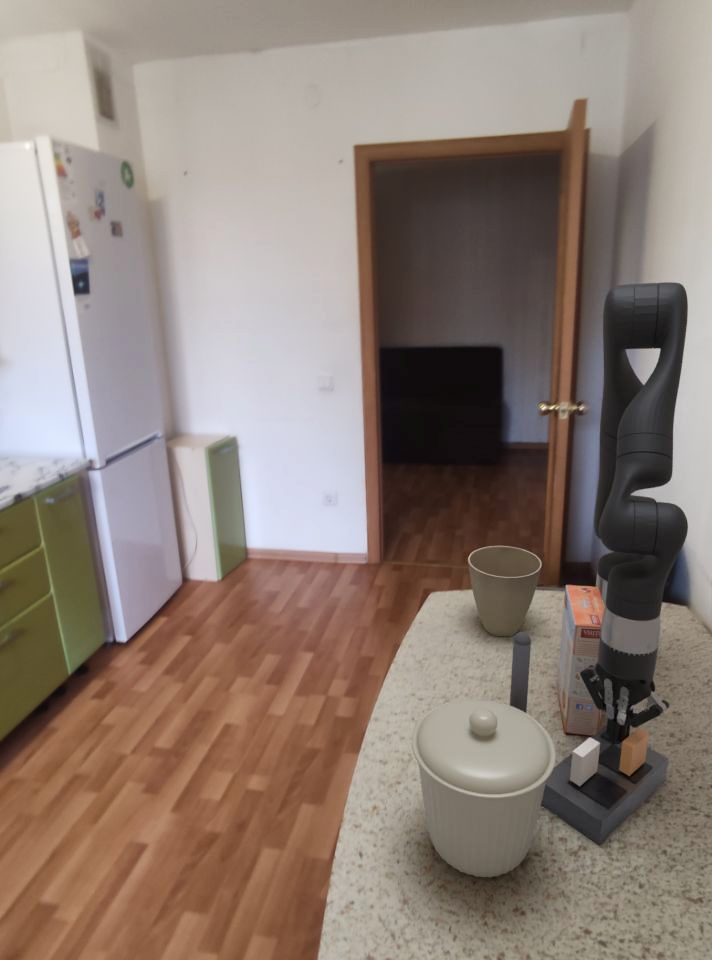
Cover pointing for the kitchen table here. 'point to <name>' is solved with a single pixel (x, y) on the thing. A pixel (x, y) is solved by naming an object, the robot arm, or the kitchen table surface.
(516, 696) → the stand
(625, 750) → the block
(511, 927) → the kitchen table surface
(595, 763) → the white rectangular block
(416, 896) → the kitchen table surface
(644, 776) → the panel
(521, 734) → the canister
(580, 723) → the cracker box
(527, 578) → the plant pot
